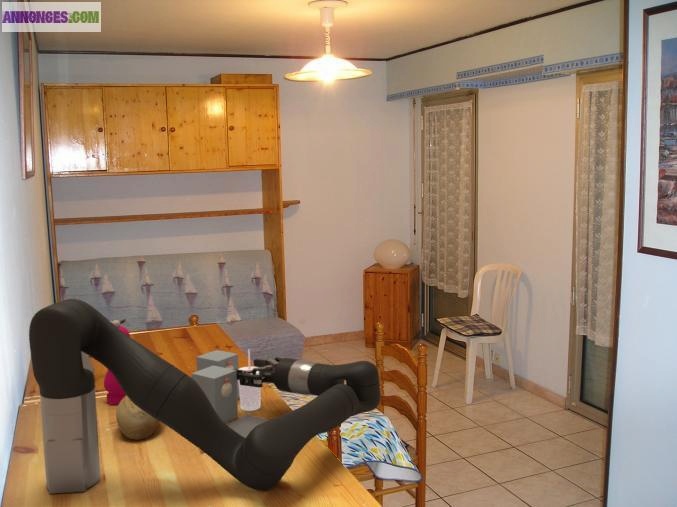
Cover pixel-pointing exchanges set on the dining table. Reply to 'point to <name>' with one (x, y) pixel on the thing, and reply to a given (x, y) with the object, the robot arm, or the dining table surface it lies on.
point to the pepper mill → (114, 379)
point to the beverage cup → (249, 392)
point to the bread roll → (134, 420)
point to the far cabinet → (219, 361)
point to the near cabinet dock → (225, 397)
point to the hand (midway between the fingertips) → (243, 368)
